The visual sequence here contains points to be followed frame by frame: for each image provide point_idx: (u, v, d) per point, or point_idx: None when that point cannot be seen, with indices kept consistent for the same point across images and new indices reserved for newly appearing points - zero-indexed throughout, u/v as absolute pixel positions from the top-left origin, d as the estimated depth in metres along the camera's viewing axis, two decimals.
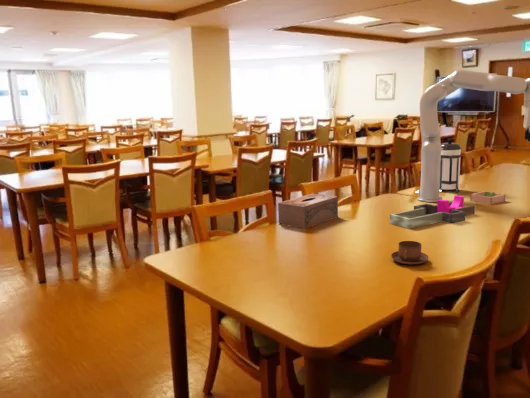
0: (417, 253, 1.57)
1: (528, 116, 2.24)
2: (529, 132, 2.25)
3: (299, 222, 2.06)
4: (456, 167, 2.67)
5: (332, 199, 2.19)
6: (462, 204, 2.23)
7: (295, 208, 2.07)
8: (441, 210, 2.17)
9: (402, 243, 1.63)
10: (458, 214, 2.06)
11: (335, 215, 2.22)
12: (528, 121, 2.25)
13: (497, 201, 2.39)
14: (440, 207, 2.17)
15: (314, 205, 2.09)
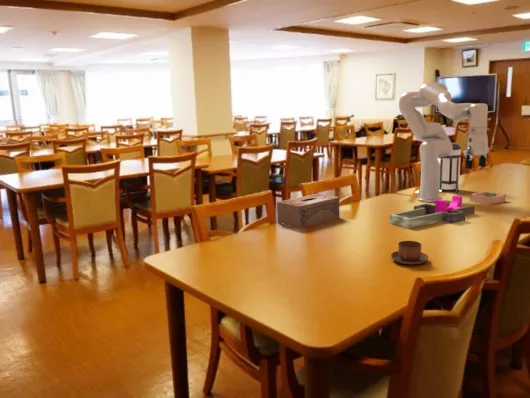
0: (417, 253, 1.57)
1: None
2: (486, 157, 2.24)
3: (295, 222, 2.07)
4: (456, 167, 2.67)
5: (333, 200, 2.17)
6: (460, 204, 2.23)
7: (291, 207, 2.08)
8: (439, 210, 2.17)
9: (402, 243, 1.63)
10: (458, 214, 2.06)
11: (336, 216, 2.21)
12: None
13: (497, 201, 2.39)
14: (438, 207, 2.17)
15: (312, 205, 2.09)
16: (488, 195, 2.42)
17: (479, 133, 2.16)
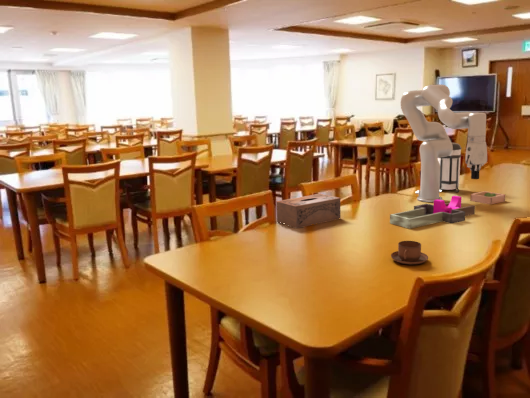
0: (417, 252, 1.57)
1: None
2: (479, 170, 2.22)
3: (292, 221, 2.08)
4: (456, 167, 2.67)
5: (333, 200, 2.16)
6: (459, 204, 2.23)
7: (289, 207, 2.09)
8: (437, 210, 2.17)
9: (402, 243, 1.63)
10: (458, 214, 2.06)
11: (337, 217, 2.19)
12: None
13: (497, 201, 2.39)
14: (437, 207, 2.17)
15: (309, 205, 2.09)
16: (487, 195, 2.42)
17: (478, 142, 2.17)
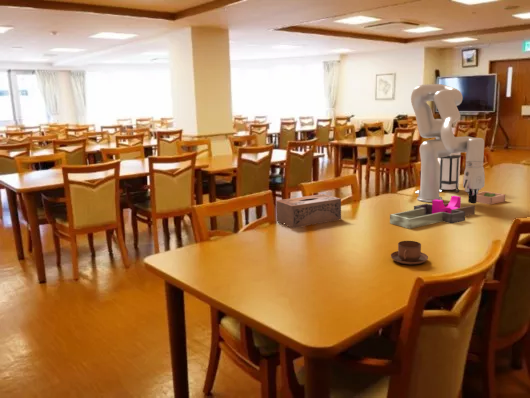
0: (417, 252, 1.57)
1: None
2: (476, 194, 2.25)
3: (289, 221, 2.09)
4: (456, 167, 2.67)
5: (333, 201, 2.15)
6: (459, 204, 2.23)
7: (286, 206, 2.10)
8: (436, 210, 2.17)
9: (402, 243, 1.63)
10: (458, 214, 2.06)
11: (337, 217, 2.18)
12: None
13: (497, 201, 2.39)
14: (435, 206, 2.17)
15: (307, 205, 2.09)
16: (487, 195, 2.41)
17: (476, 167, 2.19)
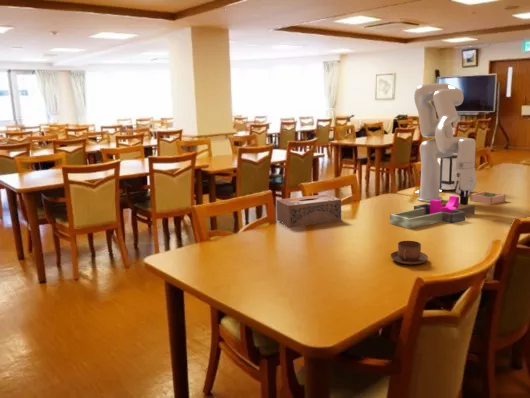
0: (417, 252, 1.57)
1: None
2: (468, 195, 2.21)
3: (287, 220, 2.10)
4: (456, 167, 2.67)
5: (332, 201, 2.14)
6: (457, 204, 2.22)
7: (284, 206, 2.11)
8: (433, 210, 2.17)
9: (401, 243, 1.63)
10: (458, 214, 2.06)
11: (337, 218, 2.16)
12: None
13: (497, 201, 2.39)
14: (433, 206, 2.17)
15: (305, 205, 2.09)
16: (487, 195, 2.41)
17: (467, 168, 2.16)
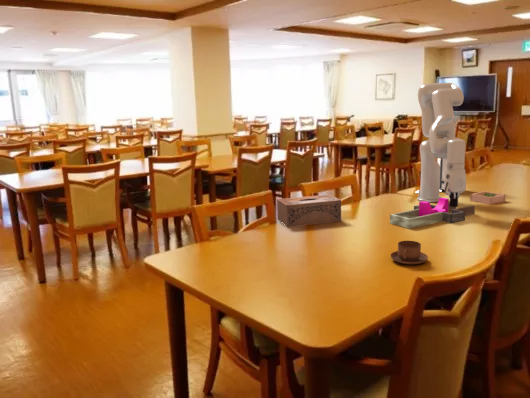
0: (417, 252, 1.57)
1: None
2: (458, 197, 2.18)
3: (285, 220, 2.11)
4: None
5: (332, 202, 2.13)
6: (447, 206, 2.19)
7: (283, 205, 2.12)
8: (422, 212, 2.13)
9: (401, 243, 1.63)
10: (458, 214, 2.06)
11: (337, 219, 2.15)
12: None
13: (497, 201, 2.39)
14: (422, 209, 2.13)
15: (303, 205, 2.09)
16: (487, 195, 2.41)
17: (457, 170, 2.12)
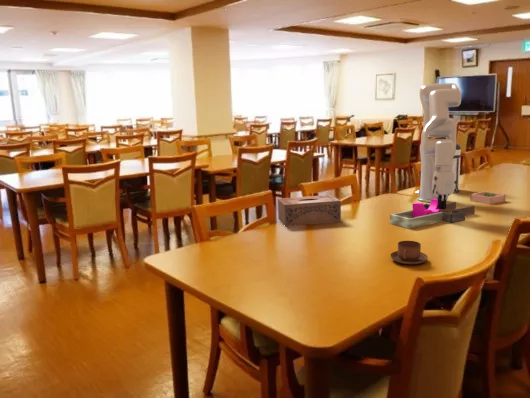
0: (417, 252, 1.57)
1: None
2: None
3: (283, 219, 2.12)
4: (456, 167, 2.67)
5: (331, 202, 2.12)
6: None
7: (282, 205, 2.13)
8: (417, 213, 2.11)
9: (401, 243, 1.63)
10: (458, 214, 2.06)
11: (336, 219, 2.14)
12: None
13: (497, 201, 2.39)
14: (416, 210, 2.11)
15: (301, 205, 2.10)
16: (487, 195, 2.41)
17: (444, 171, 2.08)
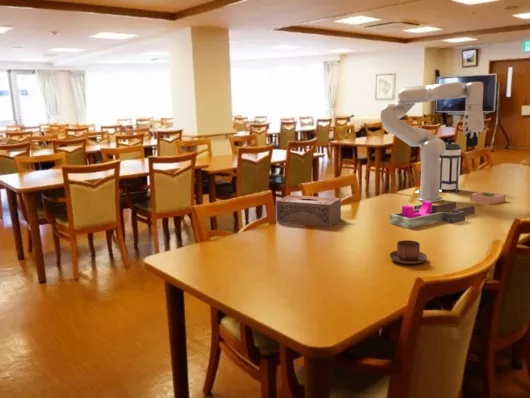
0: (416, 252, 1.57)
1: None
2: None
3: None
4: (456, 167, 2.67)
5: (320, 205, 2.07)
6: (430, 210, 2.13)
7: None
8: (405, 216, 2.08)
9: (400, 243, 1.63)
10: (458, 214, 2.06)
11: (325, 223, 2.08)
12: None
13: (497, 201, 2.39)
14: (405, 213, 2.08)
15: (291, 203, 2.14)
16: (486, 195, 2.41)
17: (475, 110, 2.28)
